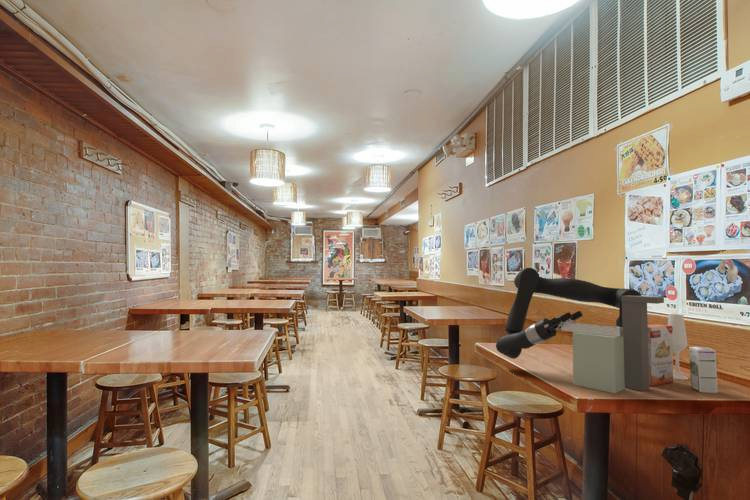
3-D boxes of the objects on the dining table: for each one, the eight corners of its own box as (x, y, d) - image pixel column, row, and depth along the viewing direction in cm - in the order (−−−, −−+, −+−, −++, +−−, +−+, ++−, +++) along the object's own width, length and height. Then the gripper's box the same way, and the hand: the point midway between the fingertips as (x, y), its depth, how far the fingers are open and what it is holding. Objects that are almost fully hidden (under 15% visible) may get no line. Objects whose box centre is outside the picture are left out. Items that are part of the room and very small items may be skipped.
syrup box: (718, 393, 141) (717, 349, 142) (698, 392, 142) (697, 349, 143) (708, 388, 147) (707, 346, 148) (689, 387, 148) (688, 346, 149)
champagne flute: (662, 375, 166) (661, 313, 167) (678, 374, 166) (676, 313, 167) (676, 379, 159) (674, 315, 160) (693, 379, 160) (691, 315, 161)
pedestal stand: (623, 387, 148) (621, 296, 149) (630, 384, 152) (628, 295, 154) (659, 395, 139) (657, 297, 141) (666, 391, 144) (663, 296, 145)
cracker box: (652, 387, 149) (651, 327, 150) (635, 383, 154) (634, 325, 155) (675, 382, 155) (673, 325, 156) (657, 378, 161) (656, 323, 162)
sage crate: (573, 384, 151) (572, 332, 152) (583, 380, 156) (582, 330, 157) (615, 393, 141) (614, 337, 142) (624, 389, 146) (623, 335, 147)
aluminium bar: (561, 330, 158) (561, 322, 158) (565, 329, 160) (564, 321, 160) (620, 337, 143) (619, 328, 143) (623, 336, 145) (623, 327, 145)
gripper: (526, 324, 163) (561, 305, 152) (545, 321, 172) (579, 303, 162) (535, 342, 160) (572, 324, 149) (554, 338, 169) (590, 321, 158)
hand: (576, 313), depth 155 cm, fingers open, 8 cm apart
